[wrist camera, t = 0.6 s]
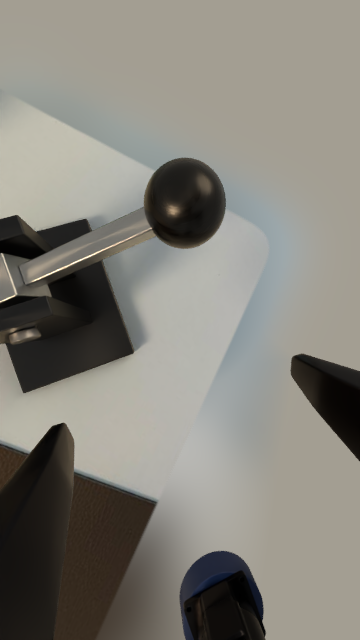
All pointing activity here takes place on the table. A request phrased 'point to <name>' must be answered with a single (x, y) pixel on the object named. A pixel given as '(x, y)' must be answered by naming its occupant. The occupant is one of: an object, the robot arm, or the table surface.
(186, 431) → the table surface
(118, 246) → the ball knob lever
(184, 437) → the table surface
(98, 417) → the table surface
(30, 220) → the table surface
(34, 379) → the lever base
